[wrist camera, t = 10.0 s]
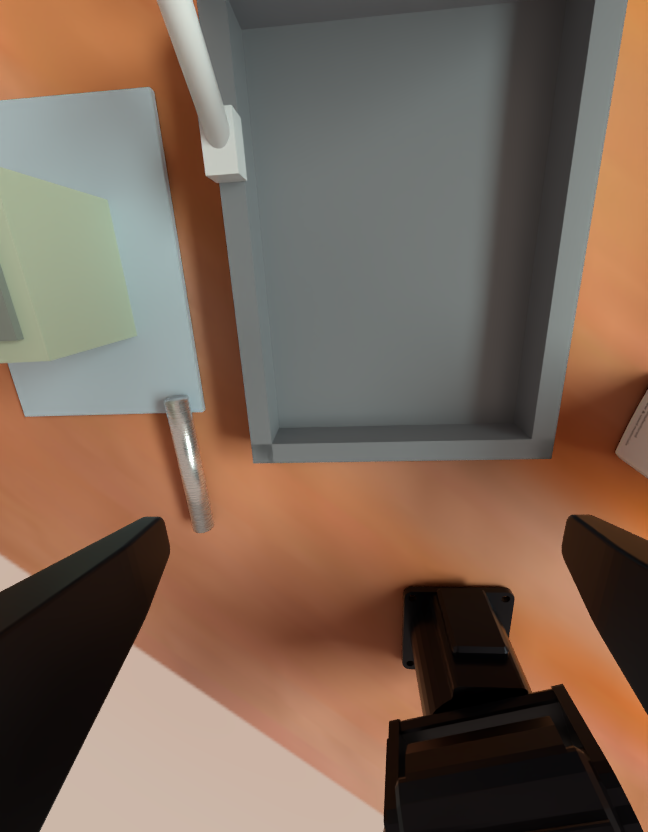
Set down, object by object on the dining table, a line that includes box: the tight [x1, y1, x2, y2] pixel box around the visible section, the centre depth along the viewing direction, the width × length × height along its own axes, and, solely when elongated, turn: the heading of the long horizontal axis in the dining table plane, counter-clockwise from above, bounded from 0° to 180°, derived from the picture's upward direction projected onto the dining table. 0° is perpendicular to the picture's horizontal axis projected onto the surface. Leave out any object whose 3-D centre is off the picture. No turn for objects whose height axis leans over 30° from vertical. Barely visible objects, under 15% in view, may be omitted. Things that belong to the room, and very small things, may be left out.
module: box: [0, 167, 137, 363], centre depth 16 cm, size 6×4×6 cm
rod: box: [164, 395, 214, 533], centre depth 21 cm, size 8×1×1 cm, turn 3°
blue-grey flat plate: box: [0, 87, 205, 417], centre depth 19 cm, size 14×10×1 cm
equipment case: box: [157, 0, 628, 463], centre depth 13 cm, size 18×14×10 cm
